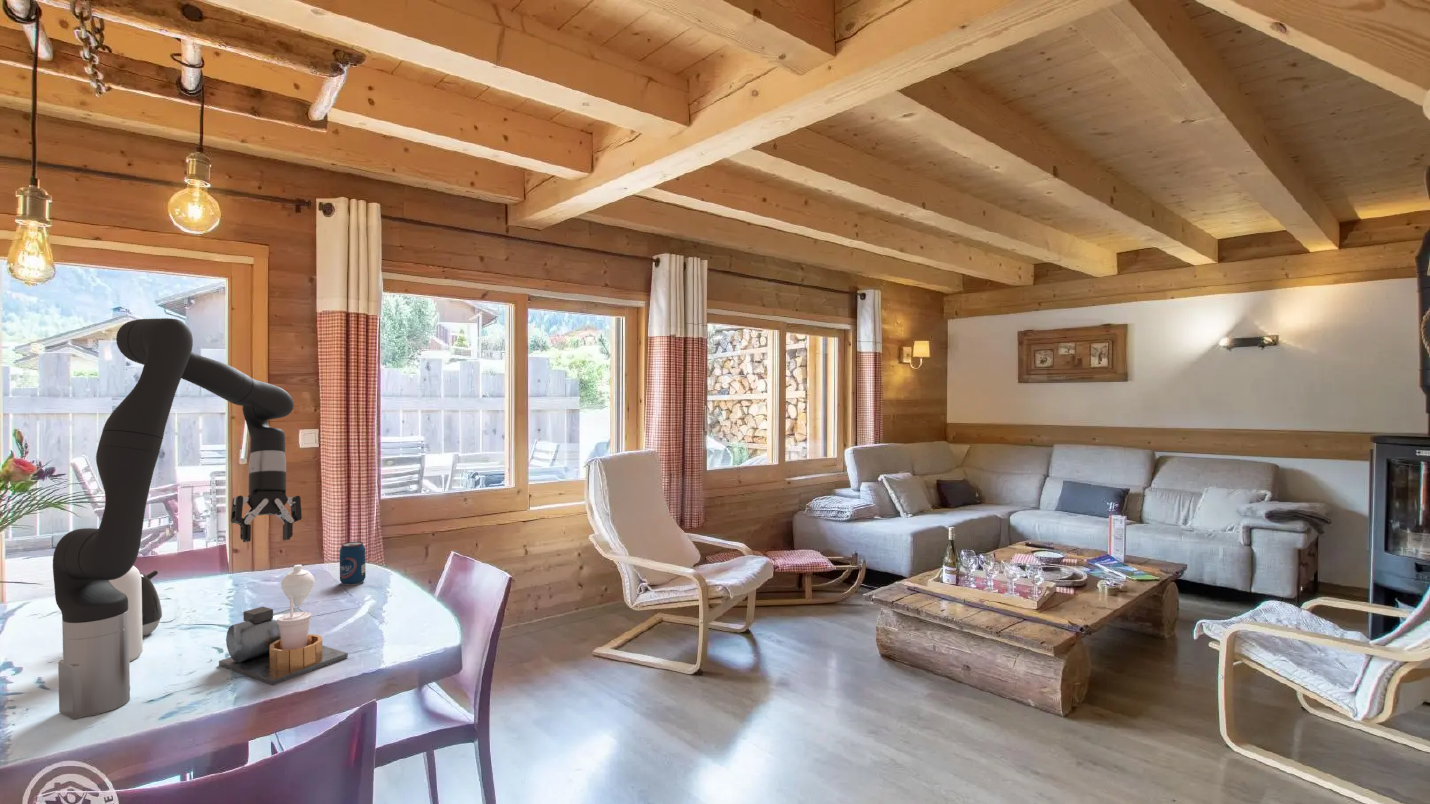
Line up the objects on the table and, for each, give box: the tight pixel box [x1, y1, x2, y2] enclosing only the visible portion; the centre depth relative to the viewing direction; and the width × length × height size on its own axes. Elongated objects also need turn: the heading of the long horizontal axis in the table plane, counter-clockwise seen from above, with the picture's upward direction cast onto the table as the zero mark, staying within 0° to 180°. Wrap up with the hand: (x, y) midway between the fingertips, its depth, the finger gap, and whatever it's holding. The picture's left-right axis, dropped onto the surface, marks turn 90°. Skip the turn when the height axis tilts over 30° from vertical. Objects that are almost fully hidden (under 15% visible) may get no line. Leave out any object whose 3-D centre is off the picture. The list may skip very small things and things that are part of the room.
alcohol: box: [109, 565, 144, 663], centre depth 152 cm, size 9×9×30 cm
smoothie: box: [277, 596, 312, 649], centre depth 149 cm, size 6×6×14 cm
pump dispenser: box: [140, 570, 163, 638], centre depth 166 cm, size 10×10×15 cm
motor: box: [218, 606, 349, 686], centre depth 151 cm, size 16×20×11 cm
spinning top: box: [280, 564, 316, 609], centre depth 186 cm, size 8×8×12 cm
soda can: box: [339, 541, 366, 586], centre depth 211 cm, size 7×7×12 cm
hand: (267, 540), depth 162 cm, fingers open, 8 cm apart
